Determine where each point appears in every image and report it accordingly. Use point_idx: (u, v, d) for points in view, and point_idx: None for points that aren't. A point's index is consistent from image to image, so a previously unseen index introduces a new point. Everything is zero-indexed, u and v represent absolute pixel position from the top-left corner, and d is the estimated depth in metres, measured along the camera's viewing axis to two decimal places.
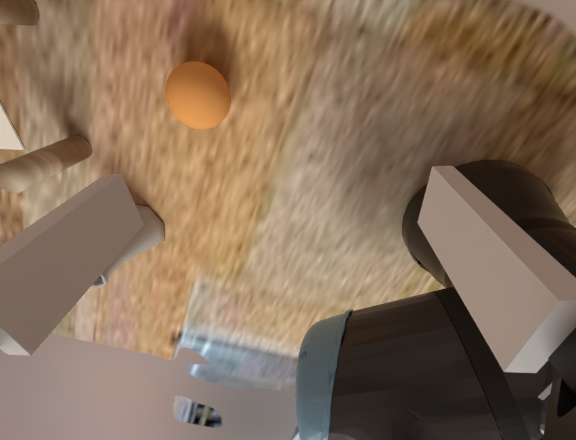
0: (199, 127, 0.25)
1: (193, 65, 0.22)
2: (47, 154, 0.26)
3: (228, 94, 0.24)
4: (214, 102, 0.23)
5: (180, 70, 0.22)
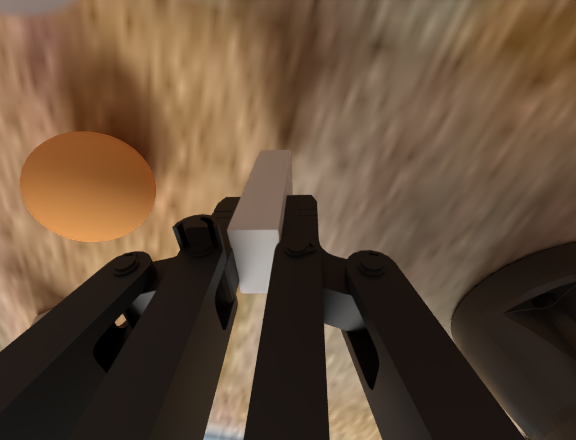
0: (100, 241, 0.14)
1: (59, 146, 0.12)
2: None
3: (143, 182, 0.14)
4: (109, 208, 0.12)
5: (34, 157, 0.12)
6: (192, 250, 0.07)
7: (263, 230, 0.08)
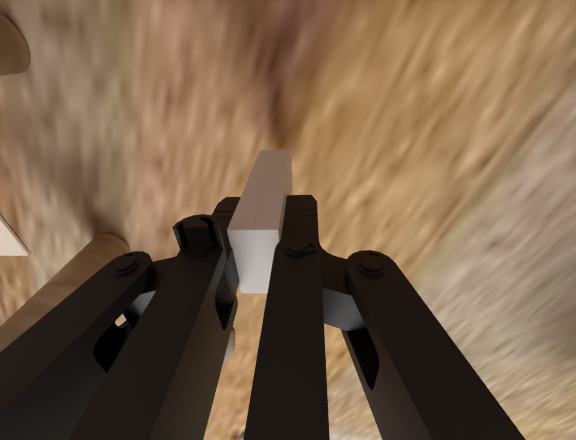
0: None
1: None
2: (64, 292, 0.15)
3: None
4: None
5: None
6: (192, 250, 0.07)
7: (263, 229, 0.08)
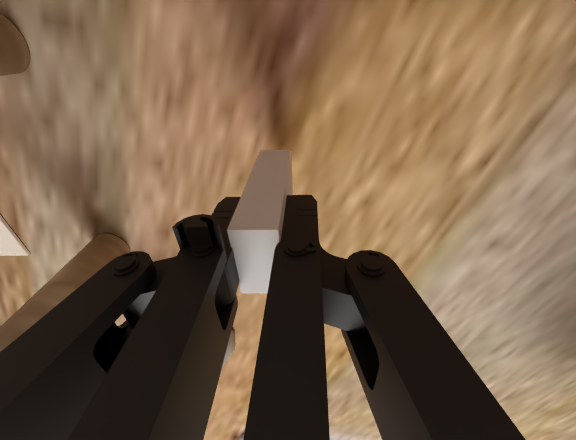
0: None
1: None
2: (64, 292, 0.15)
3: None
4: None
5: None
6: (192, 250, 0.07)
7: (263, 229, 0.08)
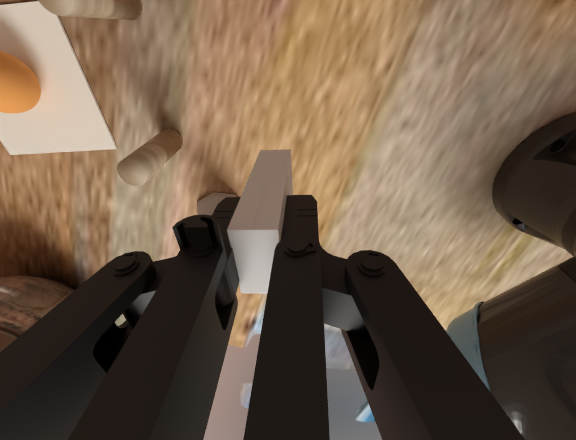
0: None
1: None
2: (156, 146, 0.27)
3: None
4: None
5: (5, 55, 0.25)
6: (192, 250, 0.07)
7: (263, 229, 0.08)
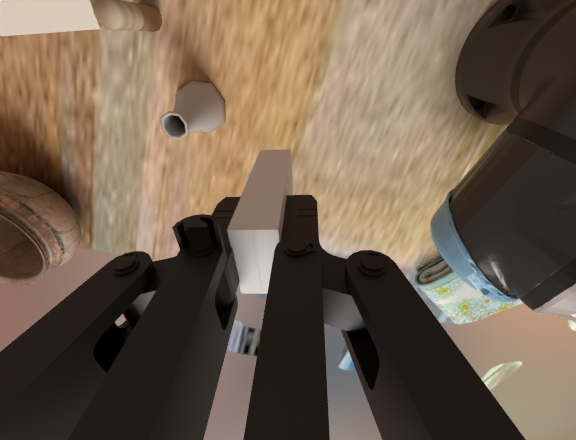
0: None
1: None
2: (132, 4, 0.29)
3: None
4: None
5: None
6: (192, 250, 0.07)
7: (263, 230, 0.08)
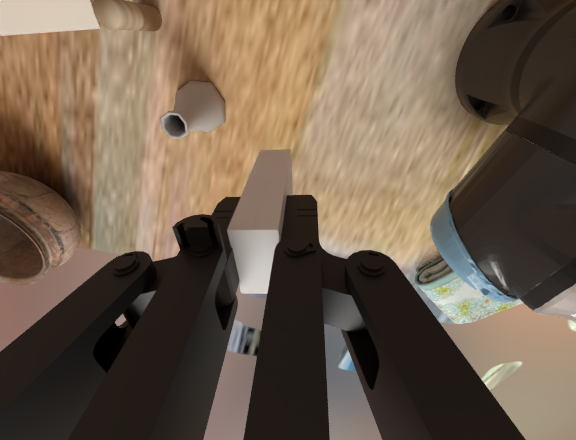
0: None
1: None
2: (132, 3, 0.29)
3: None
4: None
5: None
6: (192, 250, 0.07)
7: (263, 230, 0.08)
